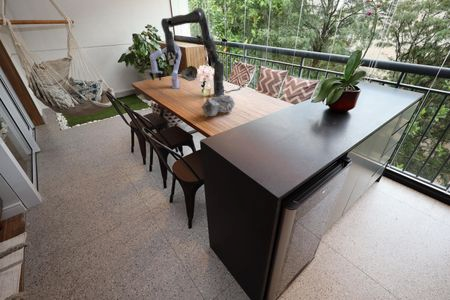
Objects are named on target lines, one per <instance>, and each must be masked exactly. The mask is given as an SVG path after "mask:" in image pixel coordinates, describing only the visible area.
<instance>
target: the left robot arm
mask: <svg viewBox="0 0 450 300" xmlns="http://www.w3.org/2000/svg"><path fill="white" fill-rule="evenodd" d="M174 47H175V51H176V52H178V53H179V54H178V59H176V64H175V65H173V70H172V72H171V74H170V76H171V89H172V90H173V89H180V83H179V77H178V73H179V72H178V71H179V67H180V63H181V59H182V51H181V48H180V47H179V45H178V44H177V43H176V42H174ZM164 52H167V49H166V47H164V48H162V49H156V51H154V52H152V53H151V54H149V60H150V66H151V70H148V71H147V72H148V74H149V76H150V78H151V80H152V81H154V80H155V77H154V74H157V76H158V80H159V81H162V75H163V71H162V70H159V69H158V64H157V63H158V62H157V61H156V59H158V58H160V57H163V55H164Z"/></svg>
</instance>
